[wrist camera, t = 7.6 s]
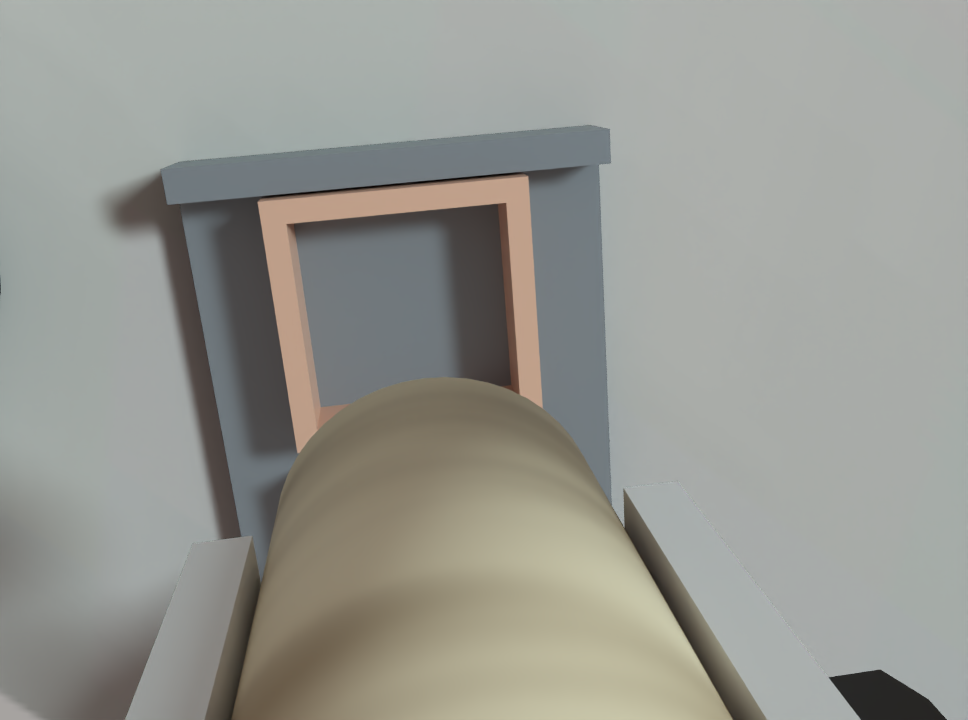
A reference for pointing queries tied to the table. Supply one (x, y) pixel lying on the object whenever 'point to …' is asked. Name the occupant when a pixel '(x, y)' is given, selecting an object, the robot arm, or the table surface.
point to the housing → (395, 286)
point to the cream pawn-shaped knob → (458, 576)
